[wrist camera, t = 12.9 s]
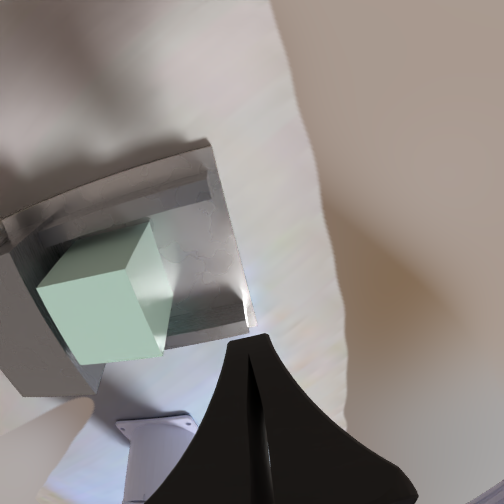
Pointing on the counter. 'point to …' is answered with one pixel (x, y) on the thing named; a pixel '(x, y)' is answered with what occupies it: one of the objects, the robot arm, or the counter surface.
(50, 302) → the pale mint cube
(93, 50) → the counter surface
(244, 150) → the counter surface
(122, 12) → the counter surface
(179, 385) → the counter surface
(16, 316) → the motor mount
